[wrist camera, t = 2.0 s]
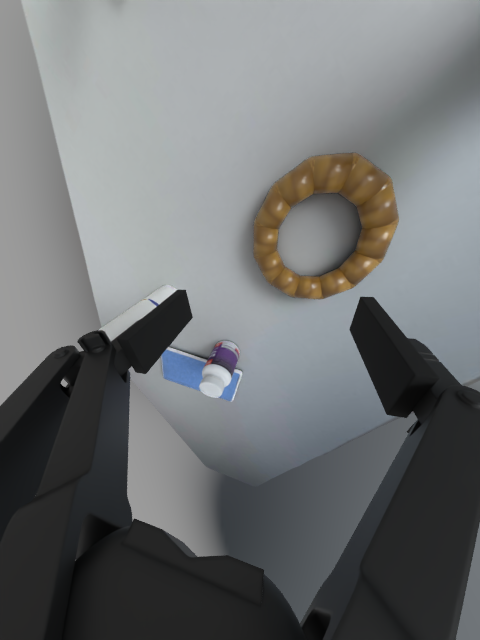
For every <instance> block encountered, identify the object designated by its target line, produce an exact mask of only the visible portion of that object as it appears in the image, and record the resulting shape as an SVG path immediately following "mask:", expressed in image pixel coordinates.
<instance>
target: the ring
mask: <svg viewBox="0 0 480 640" xmlns="http://www.w3.org/2000/svg"><path fill="white" fill-rule="evenodd" d="M322 193H339V194H340V195H342V196H343V197H345V198H346V199H347V200H349V201H350V202H352V203H353V204H354V205H356V207H357V210H358V214H359V218H360V222H361V225H362V230H361V233H360V236H359V240H358V243H357V246H356V249H355V251H354V252H353V253H352V254H351V256H350V257H349V258H348V259H347V260H346V261H345V262H344V263H343V264H342V265H341V266H340V267H339V268H338V269H335V270H333V271H331V272H328V273H326V274H324V275H321V276H319V277H317V276H299V275H298V274H296V273H295V272H293V271H292V270H290V269H288V268H287V267H285V265H284V263H283V261H282V259H281V257H280V255H279V253H278V251H277V243H278V230H279V227H280V226H281V224H282V222H283V221H284V219H285V217H286V216H287V214H288V212H289V211H290V209H291V208H292V207H294V206H295V205H297V204H298V203H300V202H301V201H303V200H304V199H306V198H308V197H309V196H311V195H312V194H322ZM398 222H399V216H398V210H397V205H396V200H395V194H394V189H393V183H392V180H391V178H390V177H389V176H388V175H387V174H386V173H384V172H383V171H382V170H380V169H379V168H378V167H376V166H375V165H374V164H372V163H371V162H370V161H368V160H367V159H366V158H364V157H363V156H361V155H360V154H358V153H342V154H330V155H319V156H312V157H309V158H308V159H306V160H305V161H303V162H302V163H301V164H299V165H298V166H297V167H295V168H294V169H293V170H291V171H290V172H289V173H287V174H286V175H285V176H283V177H282V178H281V179H279V180H278V181H277V182H275V183H274V184H273V186H272V187H271V189H270V191H269V193H268V195H267V197H266V198H265V200H264V202H263V204H262V206H261V208H260V210H259V212H258V214H257V216H256V218H255V221H254V248H253V254H254V258H255V260H256V262H257V264H258V266H259V268H260V270H261V271H262V273H263V275H264V277H265V279H266V281H267V282H268V283H269V284H271V285H272V286H274V287H275V288H277V289H279V290H280V291H282V292H284V293H285V294H287V295H288V296H290V297H294V298H308V299H324V298H327V297H330V296H332V295H335V294H338V293H341V292H343V291H346V290H349V289H351V288H353V287H355V286H356V285H357V284H358V283H359V282H361V281H362V280H363V279H364V278H365V277H366V276H367V275H368V274H369V273H370V272H371V271H372V270H373V269H374V268H376V267H377V266H378V265H379V264H380V263H381V262H382V260H383V259H384V257H385V254H386V252H387V250H388V247H389V245H390V242H391V240H392V237H393V235H394V232H395V230H396V227H397V225H398Z"/></svg>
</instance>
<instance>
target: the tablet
mask: <svg viewBox="0 0 480 640" xmlns="http://www.w3.org/2000/svg"><path fill="white" fill-rule="evenodd" d="M161 359H162V371H163V377H164V378H165V379H166V380H169V381H172V382H175V383H178V384H181V385H184V386H187V387H190V388H193V389H196V390H198V391H201V390H200V388H199V385H200V383H201V381H202V379H203V376H202V370H203V368H204V366H205V364H206V362H207V360H206V359H203V358H200V357H197V356H194V355H191V354H188V353H185V352H182V351H179V350H176V349H173V348H170V347H168V348H167V349H166V350H165V351H164V353H163V354H162V355H161ZM242 374H243V373H242V371H241V370H238V369H235V370H234V373H233V376H232V379H231V382H230V384H229V385H228V386H226V387H224V390H223V393H222V395H221V396H220V397H219V398H222V399H225V400H227V401H233V399H234V397H235V394H236V391H237V388H238V385H239V383H240V380H241V377H242Z"/></svg>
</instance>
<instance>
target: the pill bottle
mask: <svg viewBox="0 0 480 640" xmlns="http://www.w3.org/2000/svg"><path fill="white" fill-rule="evenodd" d="M239 355H240V351H239V348H238V347H237V346H236V345H235V344H234V343H232V342H230V341H220V342H218V343H217V344H216V345H215V347H214V349H213V351H212V352H211V354H210V356H209V358H208V360H207V362H206V364H205V366H204V368H203V370H202V376H203V379H202V381H201V383H200V385H199V388H200V390H201V392H202V393H204V394H205V395H207V396H209V397H214V398H217V397H220V396H221V395H222V393H223V390H224V387H226V386H228V385H229V384H230V382H231V379H232V376H233V373H234V370H235V367H236V364H237V361H238V358H239Z"/></svg>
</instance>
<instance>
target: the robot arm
mask: <svg viewBox="0 0 480 640" xmlns="http://www.w3.org/2000/svg"><path fill="white" fill-rule="evenodd" d="M192 318H193V317H192V313H191V309H190V305H189V301H188V297H187V293H186V290H177V291H175V292H174V293H173V294H172V295H170V296H169V297H168V298H167V299H165V300H164V301H163V302H162V303H160V304H159V305H158V306H157V307H156V308H154V309H153V310H152V311H151V312H149V313H148V314H147V315H146V316H144V317H143V318H142V319H140V320H138V321H136V322H135V323H134V324H132V325H131V326H130V327H129V328H127V330H125V331H124V332H122V333H121V334H120V335H119V336H117V337H116V338H115V339H114V340H112V341H110V339H109V337H108V336H107V334H106V333H105V331H103V330H97V331H93V332H90V333H88V334H86V335H84V336H82V337H81V338H79V340H78V343H79V344H80V346H81V347H82V348H83V350H84V351H81V352H79V351H78V350H77V349H76V347H75V346H66V347H61V348H59V349H57V350H56V351H54V352H52V353H51V354H50V355H49V356H48V357H47V358H46V359H45V360H44V361H43V362H42V363H41V364H40V365H39V366H38V367H37V368H36V369H35V370H34V371H33V372H32V373H31V374H30V376H28V378H27V379H26V380H25V381H24V382H23V383H22V384H21V385H20V386H19V387H18V388H17V389H16V390H15V391H14V392H13V393H12V394H11V395H10V396H9V397H8V399H7V400H6V401H5V402H4V403H3V404H2V405H1V406H0V640H456V634H457V630H458V625H459V620H460V615H461V610H462V606H463V601H464V596H465V591H466V586H467V581H468V576H469V571H470V567H471V561H472V557H473V552H474V547H475V542H476V537H477V532H478V528H479V522H480V392H478V391H477V390H474V389H472V388H469V387H466V386H462V385H461V384H460V383H459V382H458V381H457V380H456V379H455V378H454V376H453V375H452V374H451V373H450V372H449V371H448V370H447V369H446V368H445V366H444V365H443V364H442V363H441V362H439V360H438V359H437V358H436V357H435V355H433V353H432V352H431V351H430V350H429V349H428V348H427V347H426V346H425V345H424V344H422V343H421V342H419V341H418V340H416V339H409V338H407V337H406V336H405V335H404V334H403V333H402V331H401V330H400V329H399V328H398V326H397V325H396V324H395V323H394V322H393V320H392V319H391V318H390V317H389V315H388V314H387V313H386V312H385V311H384V309H383V308H382V307H381V306H380V305H379V303H378V302H377V301H376V300H375V298H374V297H360V300H359V303H358V306H357V309H356V312H355V315H354V318H353V321H352V324H351V327H350V332H351V334H352V336H353V339H354V341H355V343H356V345H357V348H358V350H359V352H360V355H361V357H362V359H363V361H364V364H365V366H366V368H367V370H368V373H369V375H370V377H371V380H372V382H373V384H374V386H375V389H376V391H377V393H378V396H379V398H380V400H381V402H382V405H383V407H384V409H385V412H386V414H387V415H392V416H398V417H404V418H407V417H408V415H409V414H410V413H411V412H412V411H414V413H415V415H416V416H417V418H418V420H417V421H416V422H415V423H414V424H413V425H412V426H411V427H410V429H409V430H408V431H407V432H408V433H409V434H408V436H407V437H406V439H405V441H404V443H403V445H402V446H401V448H400V450H399V452H398V454H397V455H396V457H395V460H394V461H393V463H392V465H391V466H390V468H389V470H388V472H387V474H386V475H385V477H384V479H383V481H382V483H381V484H380V486H379V488H378V490H377V492H376V494H375V495H374V497H373V499H372V501H371V503H370V504H369V506H368V508H367V510H366V512H365V513H364V515H363V517H362V519H361V521H360V523H359V524H358V526H357V528H356V530H355V532H354V534H353V535H352V537H351V539H350V541H349V542H348V544H347V546H346V548H345V550H344V552H343V553H342V555H341V557H340V559H339V561H338V562H337V564H336V566H335V568H334V569H333V571H332V573H331V574H330V575H329V576H328V578H327V579H326V580H325V582H324V583H323V585H322V586H321V587H320V589H319V591H318V592H317V594H316V596H315V598H314V599H313V601H312V603H311V605H310V607H309V608H308V610H307V612H306V614H305V616H304V617H303V619H302V621H301V623H299V622H298V619H297V617H296V616H295V614H294V612H293V611H292V608H291V606H290V605H289V603H288V602H287V600H286V599H285V598H284V596H283V594H282V593H281V591H280V590H279V589H278V588H277V587H276V586H275V584H274V583H273V582H272V581H271V580H270V579H269V578H268V577H266V576H265V575H264V570H263V569H261V568H258V567H255V566H253V565H250V564H248V563H245V562H243V561H240V560H238V559H235V558H233V557H230V556H208V557H197V556H196V555H195V554H194V553H193V552H192V551H191V550H190V549H189V548H188V547H187V546H186V545H185V544H184V543H183V542H182V541H180V540H179V539H177V538H175V537H174V536H172V535H170V534H169V533H167V532H165V531H164V530H162V529H160V528H157V527H155V526H152V525H150V524H147V523H145V522H142V521H139V520H137V519H134V520H133V522H132V512H131V507H130V504H129V501H128V497H127V469H128V434H129V396H130V372H129V370H128V369H129V368H130V367H131V366H132V367H133V368H134V370H135V372H137V373H143V374H146V373H147V372H148V371H149V370H150V368H151V367H152V366H153V365H154V363H155V362H156V361H157V360H158V359H159V357H160V356H161V355H162V354H163V353H164V351H165V350H166V349H167V348H168V347H169V345H170V344H171V343H172V342H173V341H174V339H175V338H176V337H177V336H178V334H179V333H180V332H181V331H182V330H183V328H184V327H185V326H186V325H187V324H188V322H189V321H190V320H191V319H192ZM62 379H64V380H65V381H66V382H67V383H68V385H67V386H66V387H63V386H62V385H61V384H60V383H61V381H62ZM36 493H37V494H36ZM35 495H36V496H35ZM75 560H76V561H75ZM263 577H264V579H263ZM262 590H263V592H262Z"/></svg>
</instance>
